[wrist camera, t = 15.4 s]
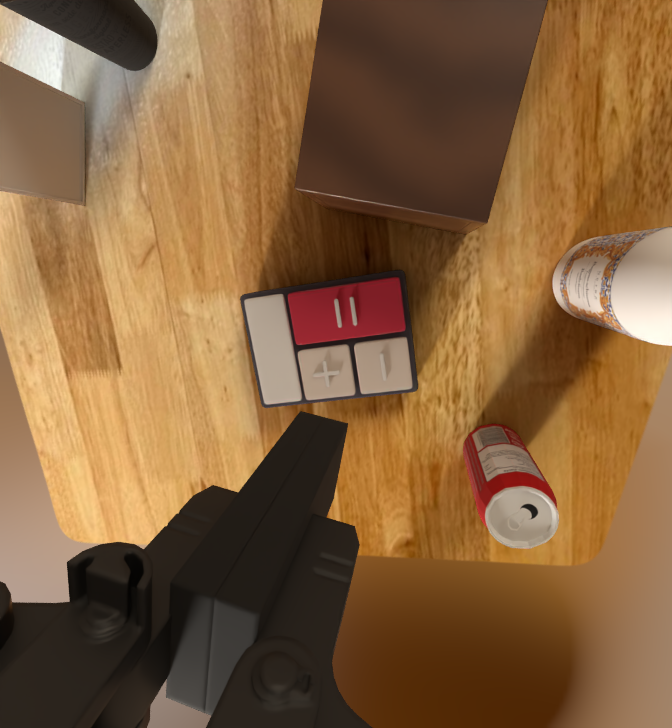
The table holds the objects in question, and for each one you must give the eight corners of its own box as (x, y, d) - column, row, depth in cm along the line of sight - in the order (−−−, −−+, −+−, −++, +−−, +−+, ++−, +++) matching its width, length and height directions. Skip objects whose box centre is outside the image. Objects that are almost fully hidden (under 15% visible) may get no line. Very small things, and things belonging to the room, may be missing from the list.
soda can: (485, 483, 41) (512, 568, 30) (450, 442, 41) (465, 512, 30) (533, 453, 40) (582, 530, 28) (498, 410, 39) (533, 471, 28)
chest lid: (343, -110, 24) (340, -123, 23) (571, -92, 22) (576, -105, 22) (297, 190, 28) (294, 188, 28) (485, 224, 27) (487, 223, 26)
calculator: (419, 394, 37) (259, 411, 39) (416, 381, 41) (271, 397, 43) (405, 269, 34) (235, 295, 37) (403, 268, 39) (251, 292, 41)
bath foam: (555, 237, 35) (724, 207, 16) (646, 236, 34) (946, 202, 15) (545, 318, 37) (687, 379, 18) (632, 320, 36) (885, 388, 16)
